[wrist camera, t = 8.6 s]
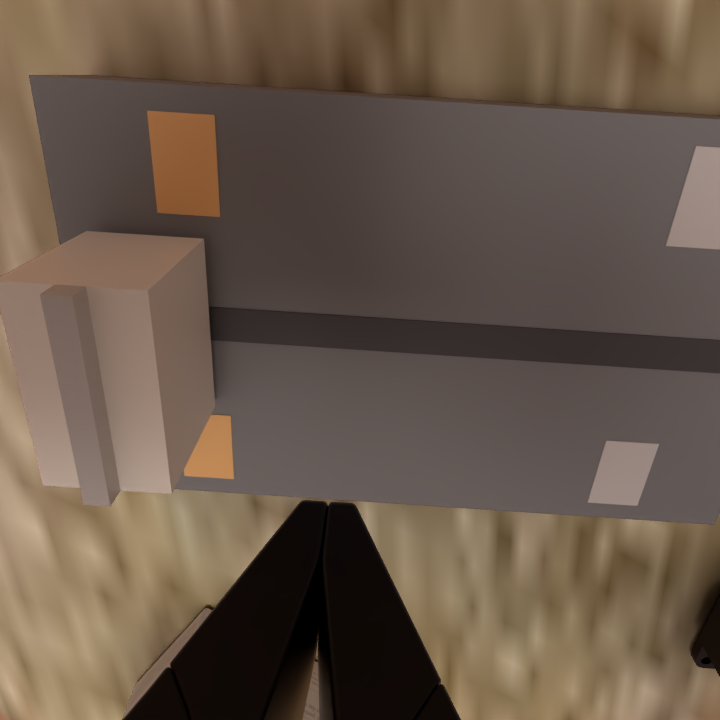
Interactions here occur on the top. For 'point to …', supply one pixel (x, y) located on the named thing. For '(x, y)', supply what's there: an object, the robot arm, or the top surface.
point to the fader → (112, 359)
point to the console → (425, 287)
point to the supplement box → (164, 661)
